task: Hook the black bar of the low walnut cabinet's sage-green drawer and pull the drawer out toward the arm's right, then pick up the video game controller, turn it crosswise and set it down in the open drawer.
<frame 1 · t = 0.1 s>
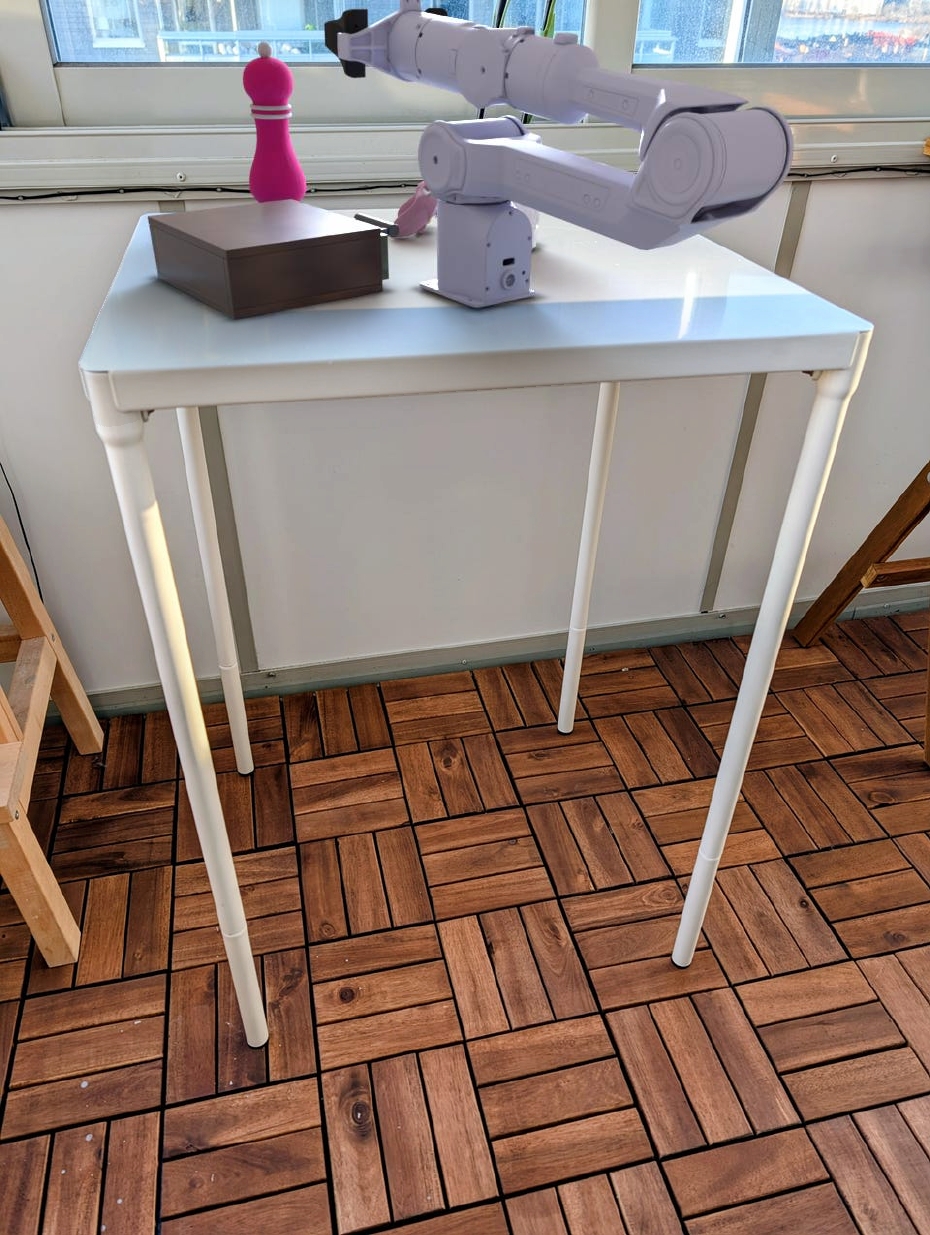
hand: (359, 33, 93), 22 cm above the table, tool horizontal, fingers open, 7 cm apart
cabinet: (269, 284, 93), on the table
white cup: (507, 247, 109), on the table
video game controller: (418, 232, 116), on the table
pepper mill: (281, 223, 118), on the table
drawer: (301, 248, 94), point 3 cm above the table, slide at 0.0 cm, touching cabinet
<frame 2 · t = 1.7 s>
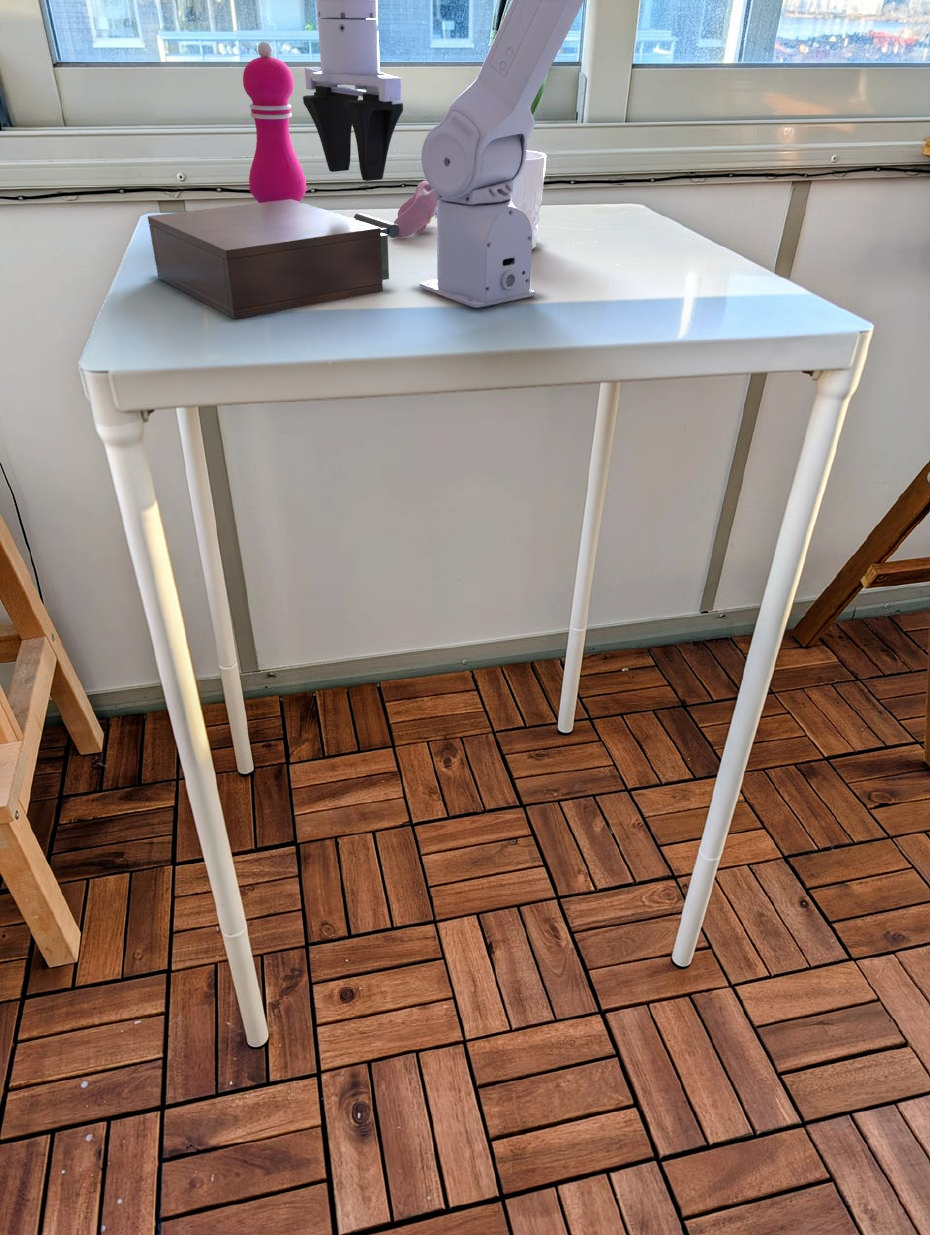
hand: (355, 175, 94), 9 cm above the table, tool pointing down, fingers open, 6 cm apart
nothing on the table moved.
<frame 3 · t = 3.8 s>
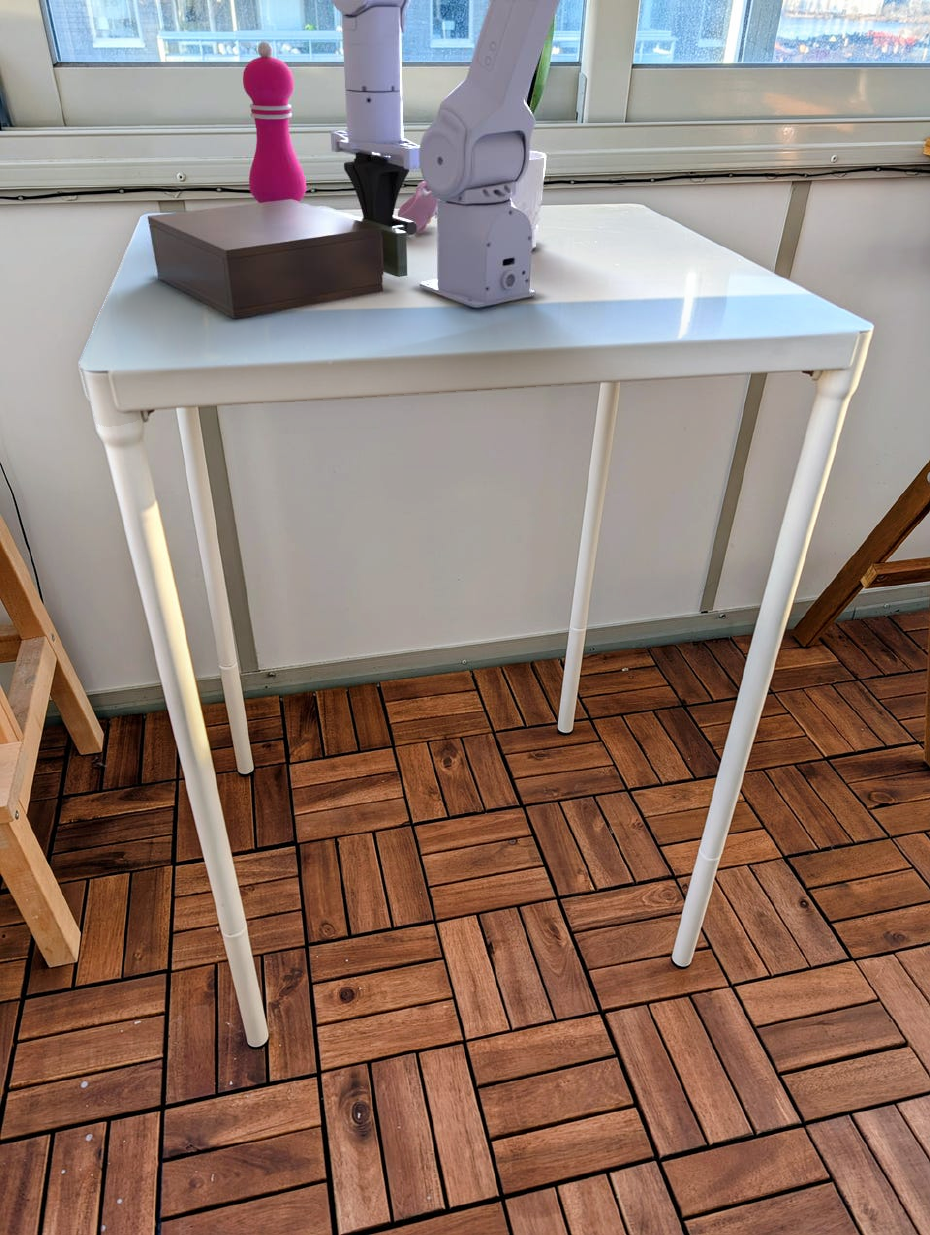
hand: (378, 233, 99), 3 cm above the table, tool pointing down, fingers closed, pressing on drawer
drawer: (320, 245, 95), point 3 cm above the table, slide at 2.3 cm, touching gripper
everything else where it was.
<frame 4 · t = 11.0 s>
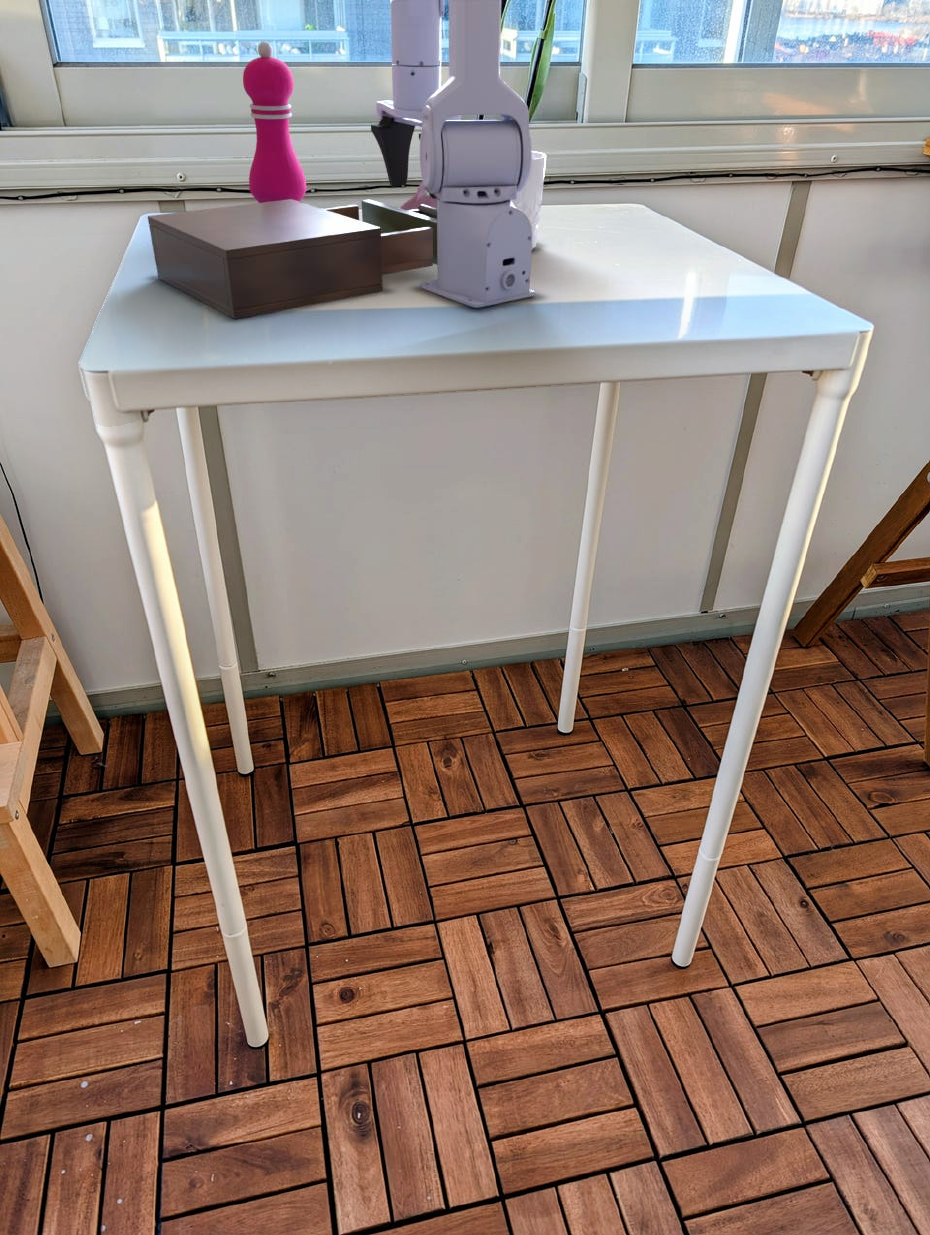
hand: (417, 191, 113), 5 cm above the table, tool pointing down, fingers open, 7 cm apart
video game controller: (418, 232, 116), on the table, touching gripper
drawer: (370, 238, 98), point 3 cm above the table, slide at 8.7 cm
everything else where it was.
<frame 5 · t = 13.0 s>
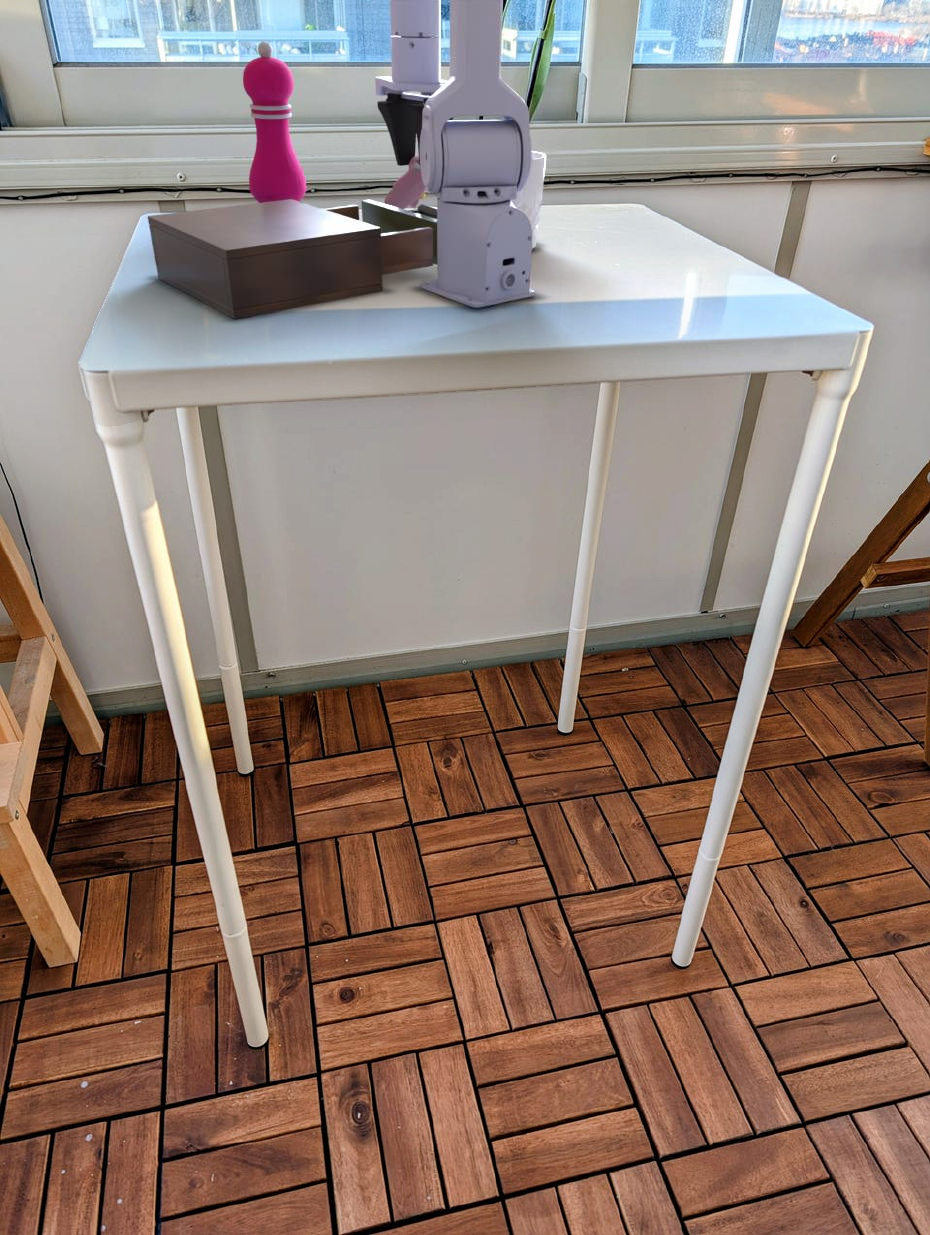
hand: (417, 167, 111), 7 cm above the table, tool pointing down, fingers closed on video game controller, 4 cm apart
video game controller: (411, 207, 115), point 2 cm above the table, touching gripper
everything else where it was.
when the fingers open (10 cm above the table, at t = 16.5 s): video game controller drops 3 cm, resting on drawer.
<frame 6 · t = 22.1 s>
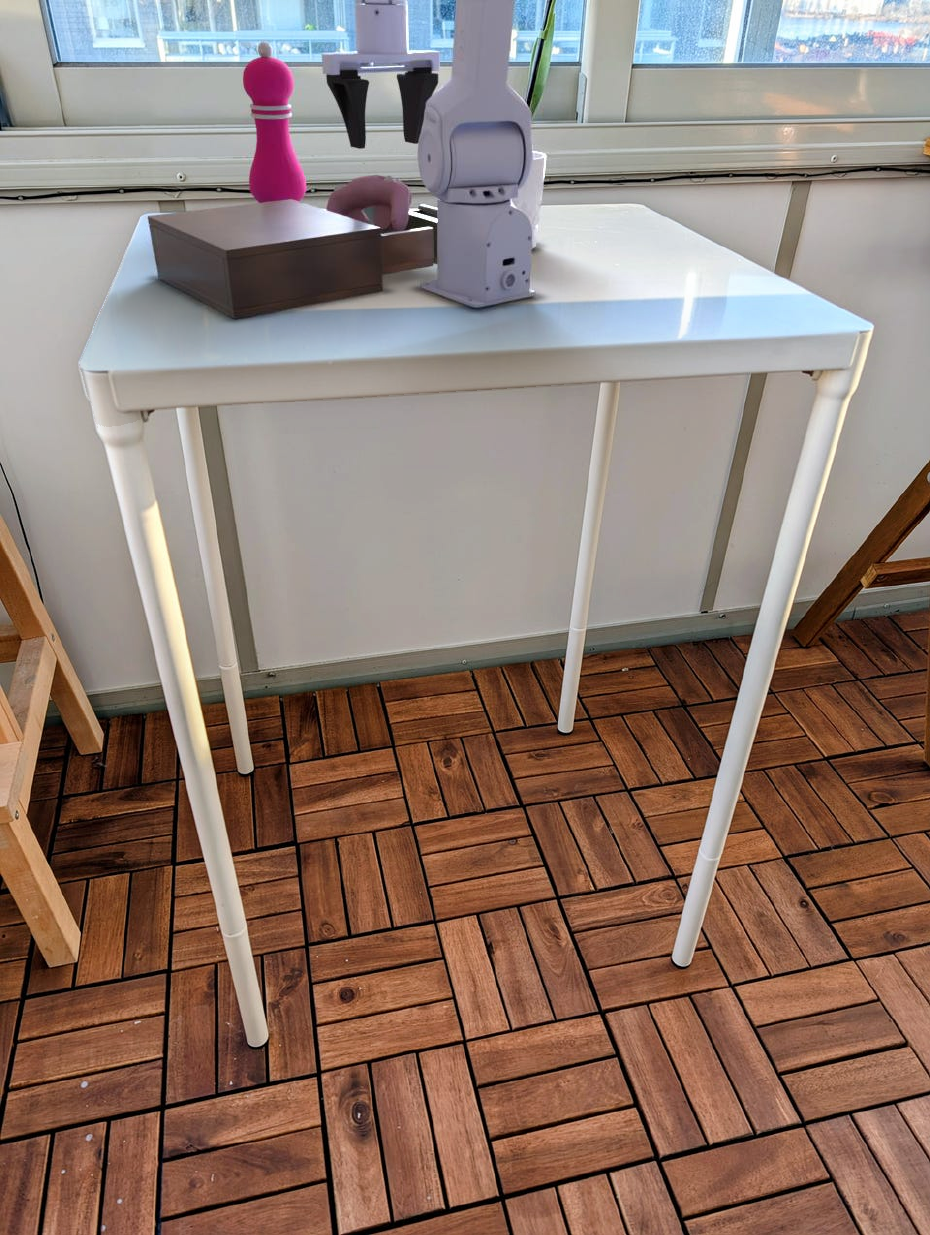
hand: (385, 145, 105), 10 cm above the table, tool pointing down, fingers open, 7 cm apart
video game controller: (372, 237, 100), point 3 cm above the table, touching drawer
drawer: (371, 237, 98), point 3 cm above the table, slide at 8.8 cm, touching video game controller
everything else where it was.
at the end: drawer slide at 8.8 cm; video game controller inside the target area in the drawer (3.2 cm from its centre), point 2.8 cm above the cabinet's base; the gripper is holding nothing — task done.
